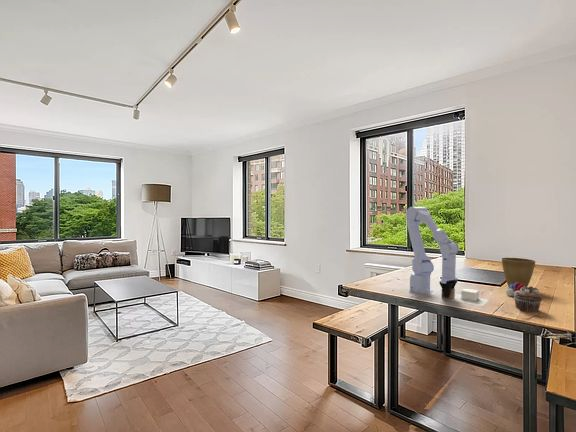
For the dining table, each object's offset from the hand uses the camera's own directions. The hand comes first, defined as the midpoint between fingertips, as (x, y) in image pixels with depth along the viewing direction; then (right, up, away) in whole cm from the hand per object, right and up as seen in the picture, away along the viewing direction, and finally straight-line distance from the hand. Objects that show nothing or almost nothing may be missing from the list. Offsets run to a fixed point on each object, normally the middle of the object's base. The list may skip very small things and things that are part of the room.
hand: (448, 295), depth 158 cm
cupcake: (+27, -2, -15) cm, 31 cm away
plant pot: (+47, -1, +20) cm, 51 cm away
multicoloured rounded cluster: (+36, -2, +4) cm, 37 cm away
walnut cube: (0, -1, 0) cm, 1 cm away
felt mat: (+7, -2, -1) cm, 7 cm away
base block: (+10, -1, -1) cm, 10 cm away
